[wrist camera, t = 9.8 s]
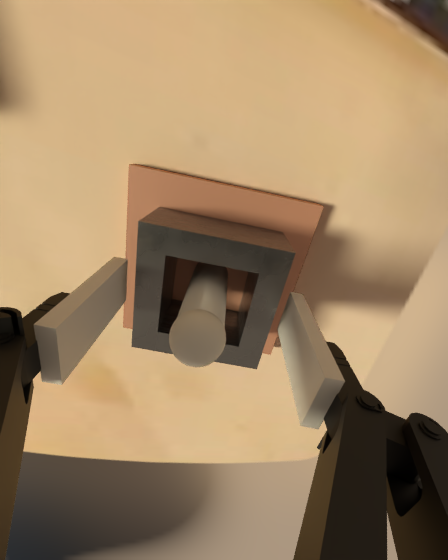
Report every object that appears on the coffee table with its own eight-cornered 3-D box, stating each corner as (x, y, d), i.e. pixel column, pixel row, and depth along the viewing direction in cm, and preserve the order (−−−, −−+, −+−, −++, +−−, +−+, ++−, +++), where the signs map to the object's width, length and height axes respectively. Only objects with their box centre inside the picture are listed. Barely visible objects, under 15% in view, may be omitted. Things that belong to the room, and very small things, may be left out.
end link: (159, 206, 16) (138, 221, 13) (282, 232, 17) (295, 253, 13) (150, 311, 20) (131, 346, 16) (252, 330, 20) (256, 369, 17)
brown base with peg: (134, 163, 16) (27, 173, 8) (319, 203, 17) (401, 251, 8) (127, 320, 21) (58, 425, 13) (269, 346, 22) (289, 463, 14)
